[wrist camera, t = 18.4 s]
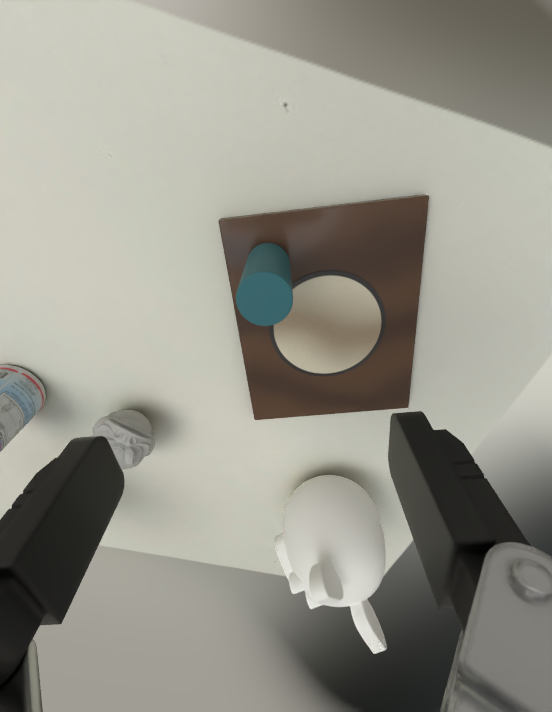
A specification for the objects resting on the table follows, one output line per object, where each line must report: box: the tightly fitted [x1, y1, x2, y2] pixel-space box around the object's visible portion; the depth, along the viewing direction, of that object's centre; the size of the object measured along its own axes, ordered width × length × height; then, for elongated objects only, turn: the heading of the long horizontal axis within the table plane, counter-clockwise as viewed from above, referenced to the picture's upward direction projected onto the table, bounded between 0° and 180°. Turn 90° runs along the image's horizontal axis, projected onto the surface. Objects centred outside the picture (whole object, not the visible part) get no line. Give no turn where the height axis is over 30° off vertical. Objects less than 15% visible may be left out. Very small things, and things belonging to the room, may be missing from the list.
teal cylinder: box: [236, 243, 293, 326], centre depth 24 cm, size 3×3×9 cm
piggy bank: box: [274, 475, 387, 654], centre depth 37 cm, size 12×12×15 cm
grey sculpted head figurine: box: [92, 410, 155, 470], centre depth 35 cm, size 6×7×7 cm
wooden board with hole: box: [219, 195, 429, 420], centre depth 31 cm, size 20×16×1 cm
